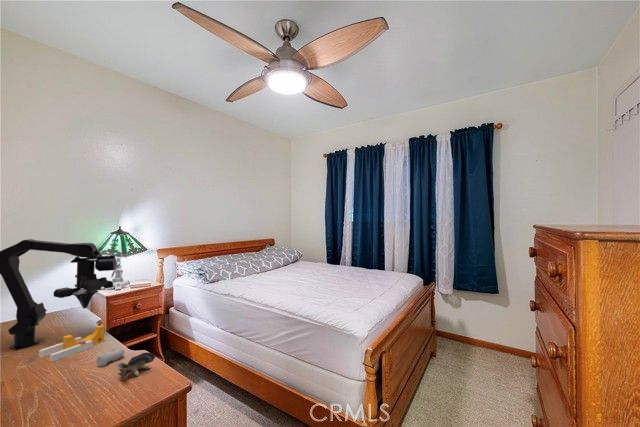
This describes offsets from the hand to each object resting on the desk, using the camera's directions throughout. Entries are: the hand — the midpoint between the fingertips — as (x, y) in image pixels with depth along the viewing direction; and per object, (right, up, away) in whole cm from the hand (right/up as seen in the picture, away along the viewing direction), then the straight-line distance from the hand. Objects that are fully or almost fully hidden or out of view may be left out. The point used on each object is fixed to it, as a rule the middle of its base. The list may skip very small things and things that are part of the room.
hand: (84, 308), depth 112 cm
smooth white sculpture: (+27, -12, -20) cm, 36 cm away
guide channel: (+5, -12, -13) cm, 19 cm away
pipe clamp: (+8, -12, -9) cm, 17 cm away
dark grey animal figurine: (+42, -12, -28) cm, 52 cm away
